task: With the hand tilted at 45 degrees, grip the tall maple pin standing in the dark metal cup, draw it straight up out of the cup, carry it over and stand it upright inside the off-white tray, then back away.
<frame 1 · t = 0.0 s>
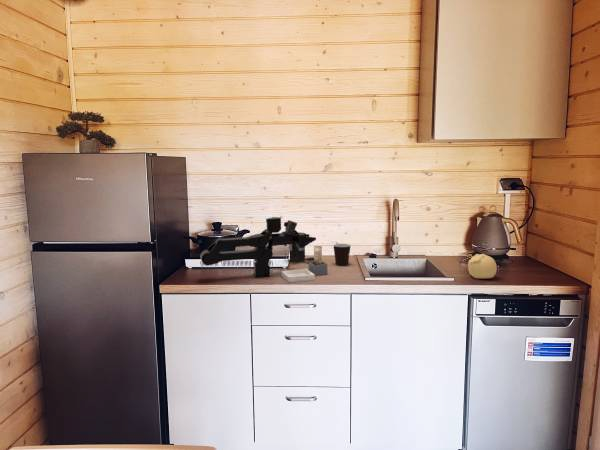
hand: (312, 237, 213), 17 cm above the worktop, tool horizontal, fingers open, 9 cm apart
tray: (297, 278, 202), on the worktop
maple pin: (318, 260, 209), in the pin cup
coffee mug: (343, 264, 229), on the worktop
pin cup: (318, 273, 210), on the worktop
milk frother: (304, 261, 236), on the worktop
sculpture: (481, 277, 200), on the worktop
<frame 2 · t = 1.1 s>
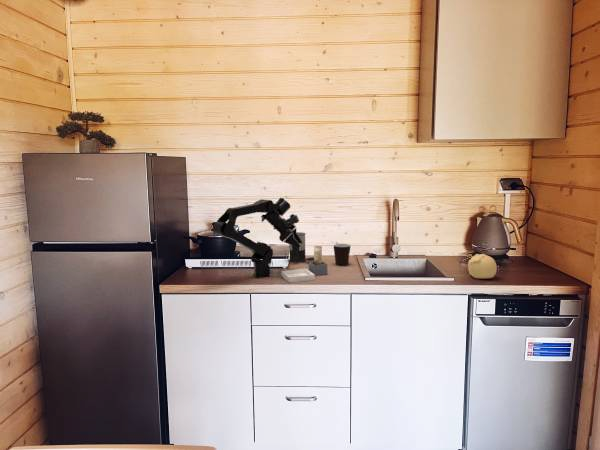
hand: (300, 244, 209), 14 cm above the worktop, tool tilted 45°, fingers open, 9 cm apart
nothing on the worktop moved.
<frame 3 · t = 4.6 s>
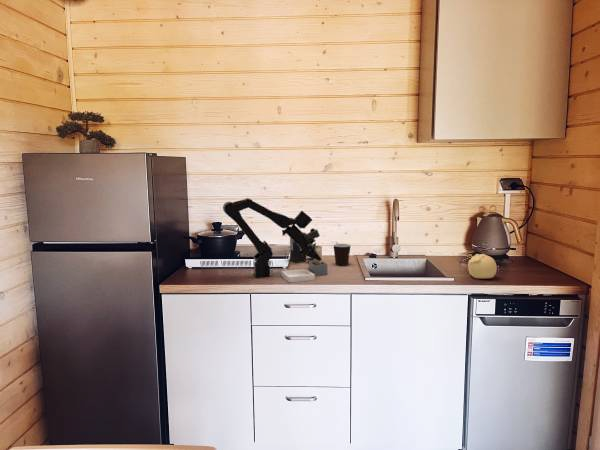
hand: (321, 259, 209), 7 cm above the worktop, tool tilted 45°, fingers closed on maple pin, 4 cm apart
maple pin: (318, 260, 209), in the pin cup, touching gripper
everything else where it was.
when the fingers open (9 cm above the worktop, at t = 8.5 s): maple pin drops 2 cm, resting on tray.
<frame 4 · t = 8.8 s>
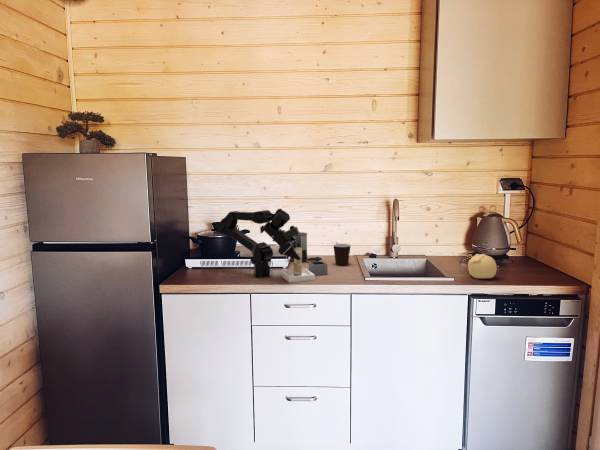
hand: (300, 257, 201), 9 cm above the worktop, tool tilted 45°, fingers open, 7 cm apart
maple pin: (297, 262, 201), in the tray, point 7 cm above the worktop
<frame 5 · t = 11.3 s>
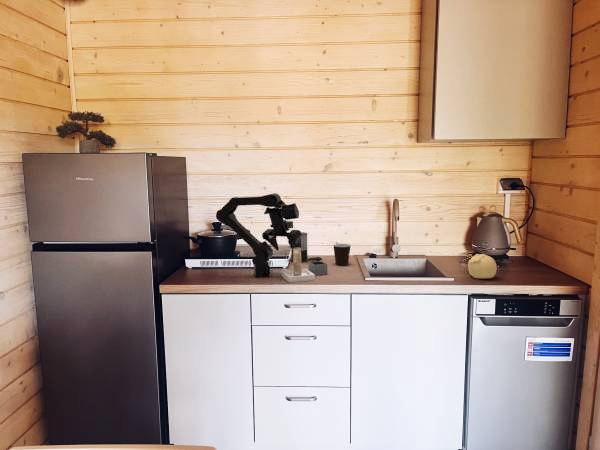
hand: (285, 250, 208), 11 cm above the worktop, tool tilted 20°, fingers open, 9 cm apart
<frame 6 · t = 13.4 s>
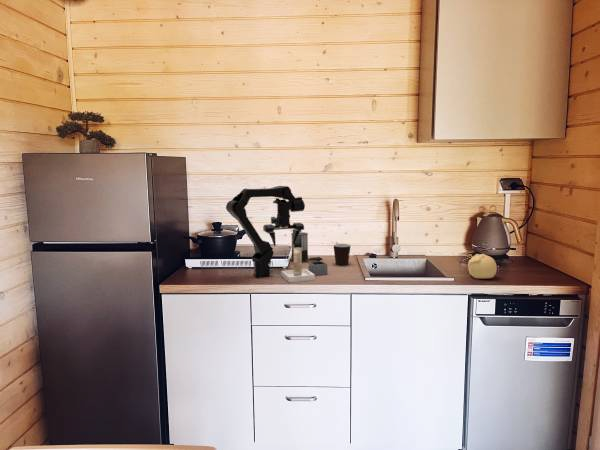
hand: (284, 245, 212), 13 cm above the worktop, tool pointing down, fingers open, 9 cm apart
at the end: maple pin inside the target area on the tray (0.1 cm from its centre), point 7.3 cm above the tray's base; maple pin tilted 1°; the gripper is holding nothing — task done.
